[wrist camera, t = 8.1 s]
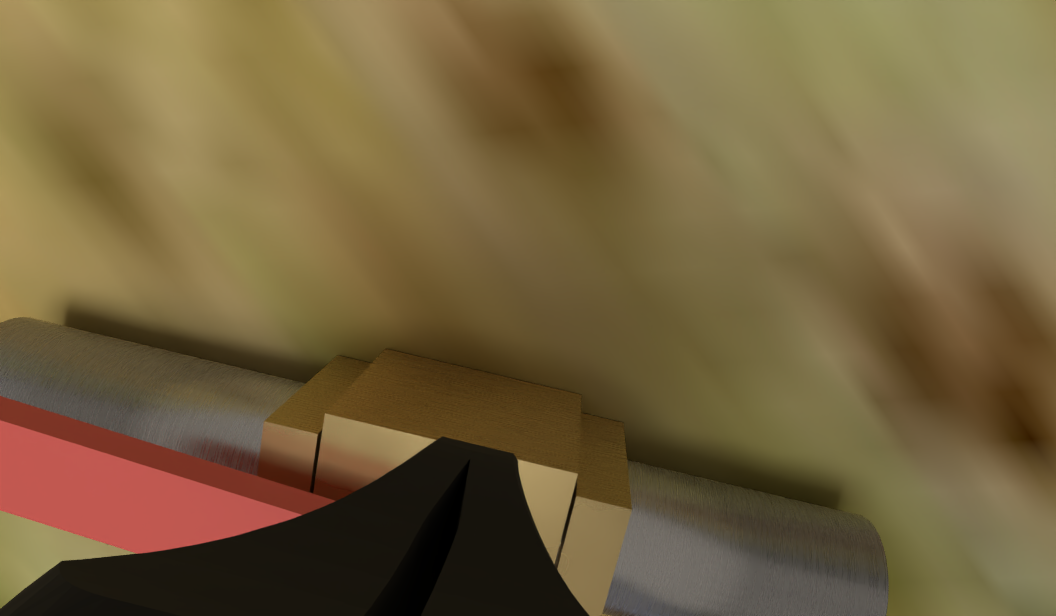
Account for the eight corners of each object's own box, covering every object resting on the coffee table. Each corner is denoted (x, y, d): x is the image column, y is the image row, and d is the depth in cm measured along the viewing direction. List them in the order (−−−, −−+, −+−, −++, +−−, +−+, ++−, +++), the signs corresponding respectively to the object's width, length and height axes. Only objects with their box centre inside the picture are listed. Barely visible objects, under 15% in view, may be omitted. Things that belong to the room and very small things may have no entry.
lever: (510, 531, 17) (505, 556, 16) (472, 650, 18) (465, 680, 17) (-31, 362, 17) (-69, 376, 16) (-41, 488, 18) (-77, 509, 17)
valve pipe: (857, 459, 22) (944, 570, 16) (793, 628, 23) (853, 778, 18) (63, 272, 23) (-104, 318, 17) (56, 448, 24) (-97, 540, 19)
